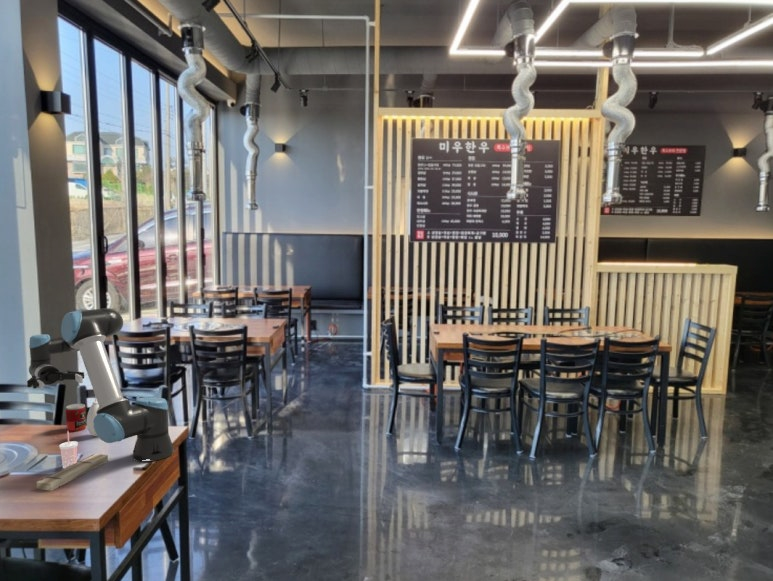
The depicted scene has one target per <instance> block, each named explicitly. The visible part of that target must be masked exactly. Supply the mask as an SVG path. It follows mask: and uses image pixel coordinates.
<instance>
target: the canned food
mask: <svg viewBox="0 0 773 581" xmlns="http://www.w3.org/2000/svg"><path fill="white" fill-rule="evenodd" d="M86 413H87V412H86V404H84V403H72V404H68V405H67V406H65V421H66V425H65V426H66V430H67V431H70V432H69V433H76V432H81V431H84V430H85V429H86V428H87V415H86Z"/></svg>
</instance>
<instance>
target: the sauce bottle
mask: <svg viewBox="0 0 773 581" xmlns="http://www.w3.org/2000/svg"><path fill="white" fill-rule="evenodd" d="M89 407H90V408H89V409H88V412H87V415H86V428H87V430H88V433H89V434H90V435H92V436H93V437H98V436H97V434H96V432H95V429H94V423H93V422H94V418H95V416H96V415H97V413H96V411H97V409H98V408H99V405H98V402H97V399H96V396H95V395H94V401H93V402H92V404H91V405H90V406H89Z"/></svg>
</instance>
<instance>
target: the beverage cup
mask: <svg viewBox="0 0 773 581" xmlns="http://www.w3.org/2000/svg"><path fill="white" fill-rule="evenodd" d="M58 446H59V449H60V456H61V462H62V469H63V468H66V467H69V466H71V465H73V464H75V463H77V462H78V446H79V442H78V441H76V440H73V441H70V432H69V431H67V441H65V442H63V443H60V444H59V445H58Z"/></svg>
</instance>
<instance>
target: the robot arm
mask: <svg viewBox="0 0 773 581" xmlns="http://www.w3.org/2000/svg"><path fill="white" fill-rule="evenodd" d="M123 327H124V318H123V316H122V315H121V314H120V313H119V312H118V311H116V310H115V309H112V308H108V307H107V308H106V307H105V308H96V309H93V308H92V309H85V310H79V309H78V310H75V311H70V312H67V313H66V314H65V315H64V316H63V318H62V320H61V327H60V328H61V329H60V332H61V336H57V337H51V336H50V335H49V334H48V333H47V334H46V333H44V334H35V335H31V336H29V345H28V346H29V357H30V365H29V367H28V373H29V375H30V376H31V377H30V378H29V379H28V380H27V381H26V385H27V386H26V387H27V388H31V387H33V388H32V389H35V390H36V389H40V390H41V391H43V390H44V389H45V388H44V386H45V385H53V384H55V383H56V382H59V381H65V380H66V381H67V380H69V381H71V380H72V381H73V380H75V382H77V383H80V384H82V383H83V379H85V372H84V371H83V372H82V371H71V370H66V371H60V370H59V368H57V367H56V366H53V365H52V356H53V355H60V354H61V355H62V354H65V353H73V352H79V353H80V356H81V359H82V362H83V364H84V368H85V370H86V373H87V376H88V379H89V381H90V385H91V387H92V389H93V394H94V397H95V396H96V401H97V402H98V405H99V408H98V409H97V411H96V413H97V415H96V416H95V418H94V422H93V423H94V429H95V432H96V434H97V436H96V437H98V438H99V440H101V441H102V442H105V443H107V444H111V443H112V444H113V443H115V442H117V443H118V442H121V441H123V440H126V439H129V438H132V437H135V436H136V440H135V444H134V447H133V449H132V450H133V451H132V458H133V460H134V459H135V461H136V460H137V462H142V460H146V459H150V460H153V461H152V462H156V461H160V460H163V459H166V458H169V457H171V456H172V455H173V454H174V452H175V447H174V444H173V442H172V439H171V437H170V434H169V411H168V410H169V406H168V401H167V400H166V398H162V397H157V396H146V397H140V398H136V399H135V404H131V402H130V400H129V399H128V398H125V397H124V396H123V393H122V390H121V387H120V385H119V382H118V380H117V377H116V374H115V371H114V369H113V368H114V367H113V365H112V363H111V361H110V357H109V354H108V352H107V349H106V346H105V344H104V342H105V340H106V338H107V337H108V338H109V337H112V336H114V335H116V334H118V333H120V331H121V330H122V328H123Z"/></svg>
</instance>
